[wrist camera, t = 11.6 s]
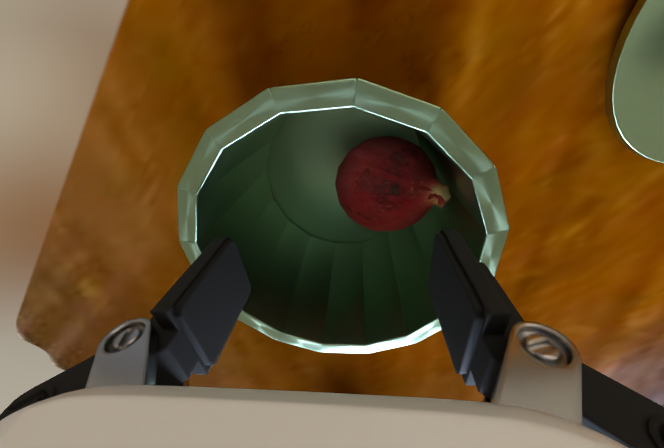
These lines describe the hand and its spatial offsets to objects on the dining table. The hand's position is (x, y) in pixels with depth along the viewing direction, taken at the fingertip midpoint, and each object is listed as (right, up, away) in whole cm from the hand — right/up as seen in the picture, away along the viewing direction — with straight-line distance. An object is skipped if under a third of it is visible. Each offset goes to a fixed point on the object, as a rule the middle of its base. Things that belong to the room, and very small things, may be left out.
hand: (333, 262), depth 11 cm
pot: (+1, +5, +9) cm, 11 cm away
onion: (+1, +5, +8) cm, 10 cm away
